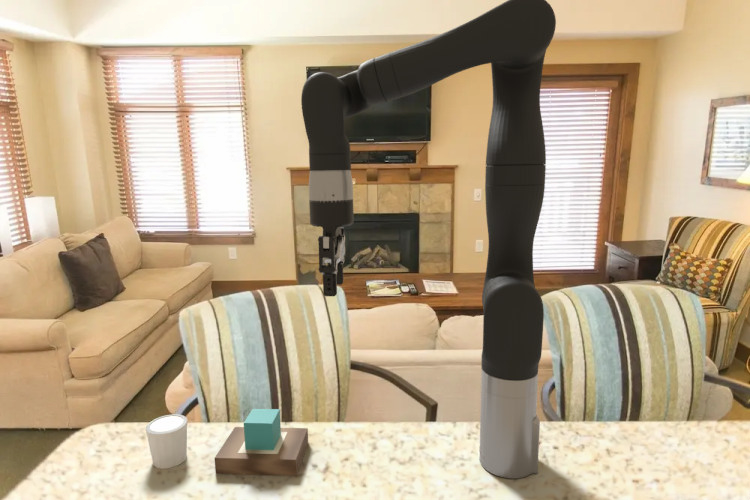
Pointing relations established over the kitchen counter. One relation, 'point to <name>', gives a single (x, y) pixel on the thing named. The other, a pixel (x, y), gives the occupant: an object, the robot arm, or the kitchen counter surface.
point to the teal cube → (262, 429)
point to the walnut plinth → (263, 454)
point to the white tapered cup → (168, 440)
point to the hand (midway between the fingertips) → (334, 289)
